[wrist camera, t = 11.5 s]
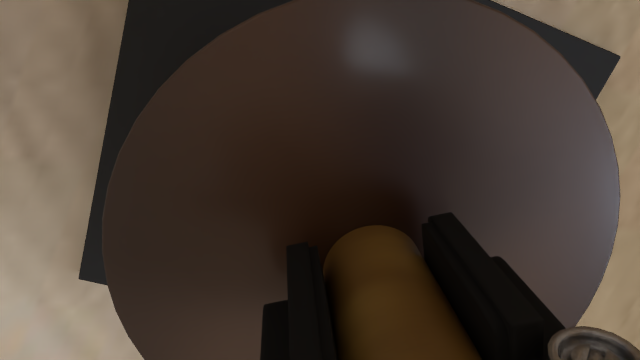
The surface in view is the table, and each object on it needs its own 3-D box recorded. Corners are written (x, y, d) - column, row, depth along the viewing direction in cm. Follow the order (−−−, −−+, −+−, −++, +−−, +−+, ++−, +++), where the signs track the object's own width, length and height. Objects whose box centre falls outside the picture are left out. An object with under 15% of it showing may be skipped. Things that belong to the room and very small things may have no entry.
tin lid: (158, 429, 14) (82, 697, 9) (65, -11, 9) (-266, -46, 4) (541, 396, 15) (690, 615, 10) (647, -13, 10) (1082, -41, 5)
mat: (82, 272, 18) (77, 279, 18) (158, -139, 13) (154, -145, 13) (442, 352, 22) (445, 359, 22) (612, 55, 17) (621, 56, 16)
